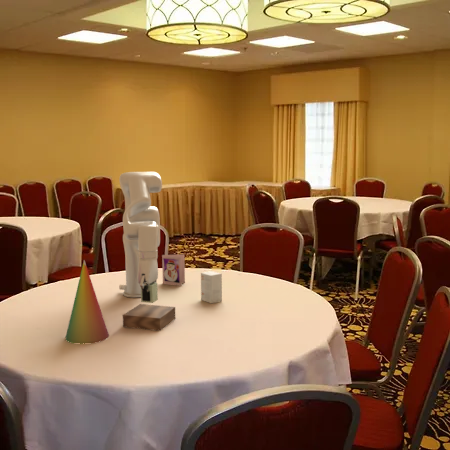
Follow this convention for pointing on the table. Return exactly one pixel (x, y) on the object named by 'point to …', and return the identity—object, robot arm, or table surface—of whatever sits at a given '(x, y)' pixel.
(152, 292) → the sage block
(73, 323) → the decorative cone
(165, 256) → the greeting card
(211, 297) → the small box
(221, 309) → the table surface
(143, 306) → the walnut base
